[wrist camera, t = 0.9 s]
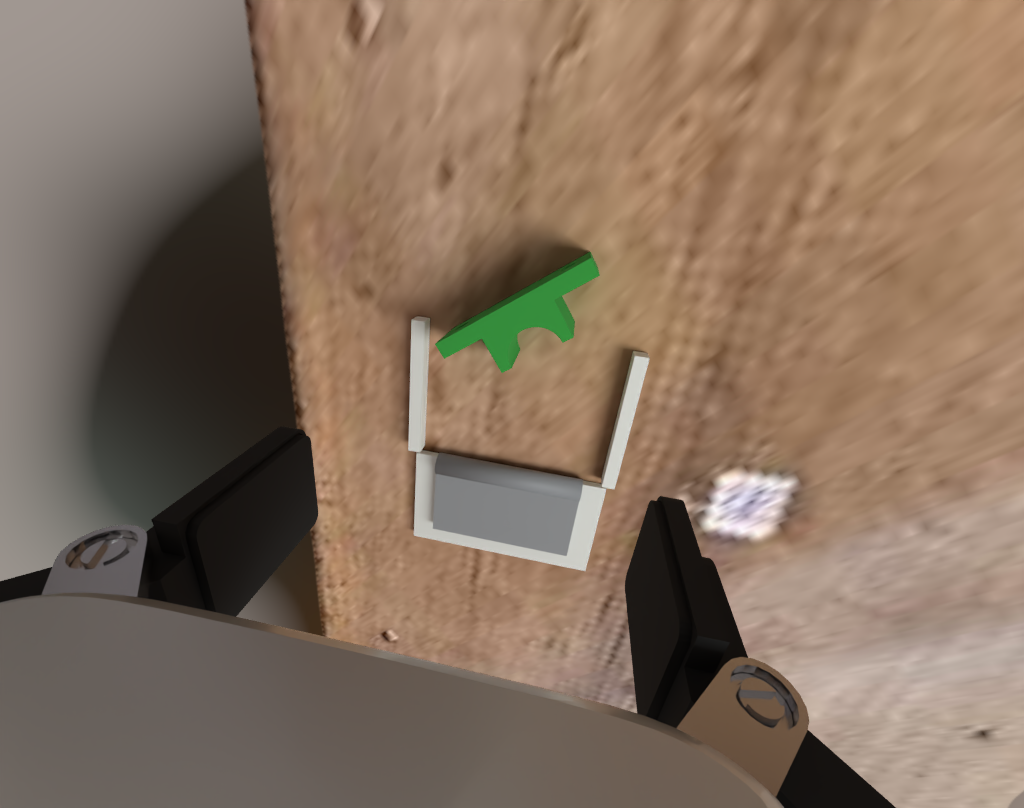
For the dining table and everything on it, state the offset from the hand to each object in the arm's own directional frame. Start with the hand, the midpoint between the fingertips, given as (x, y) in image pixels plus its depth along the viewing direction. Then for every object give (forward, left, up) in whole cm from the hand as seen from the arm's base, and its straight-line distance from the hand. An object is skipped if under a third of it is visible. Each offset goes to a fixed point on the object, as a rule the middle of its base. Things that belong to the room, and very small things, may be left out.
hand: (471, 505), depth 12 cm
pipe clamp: (0, -1, -22) cm, 22 cm away
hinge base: (+12, -1, -21) cm, 25 cm away
